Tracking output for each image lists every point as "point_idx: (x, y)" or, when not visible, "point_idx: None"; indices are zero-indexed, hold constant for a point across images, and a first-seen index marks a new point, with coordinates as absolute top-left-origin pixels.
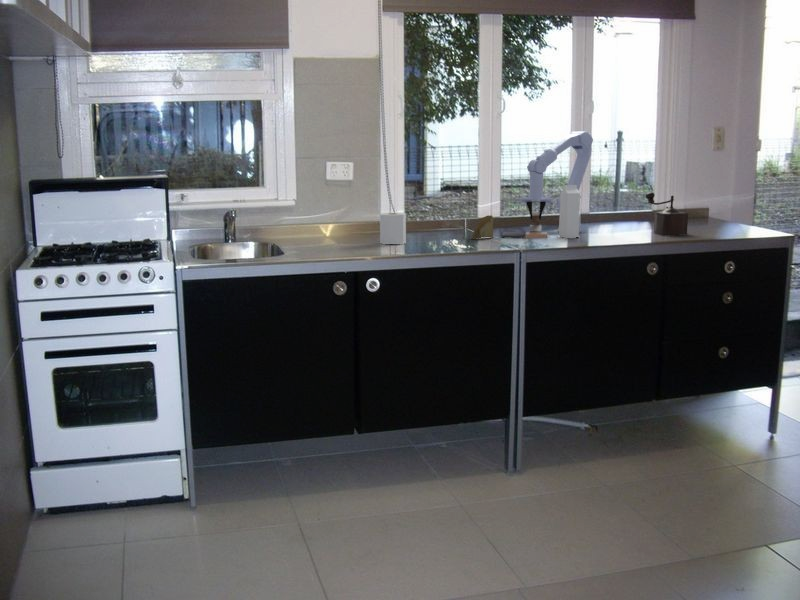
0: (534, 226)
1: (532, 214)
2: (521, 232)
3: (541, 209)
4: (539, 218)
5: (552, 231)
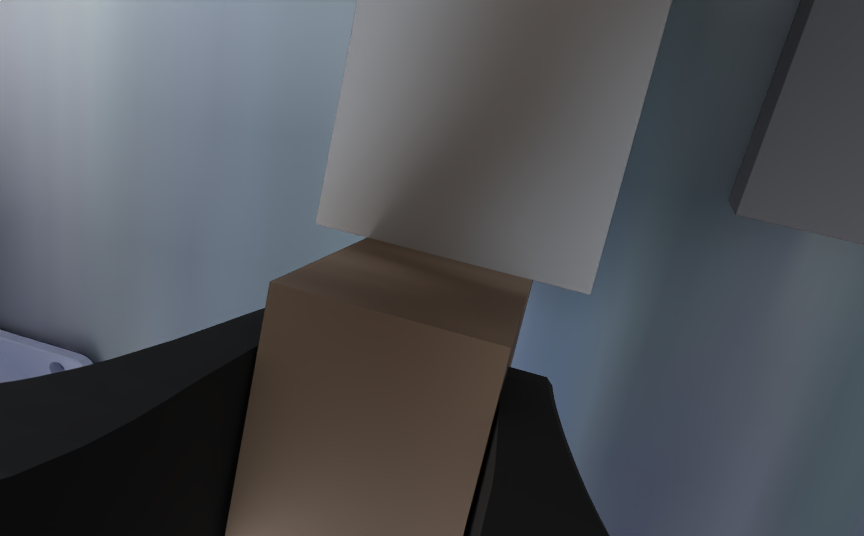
0: (505, 133)
1: (475, 465)
2: (806, 173)
3: (55, 402)
4: None
5: None
